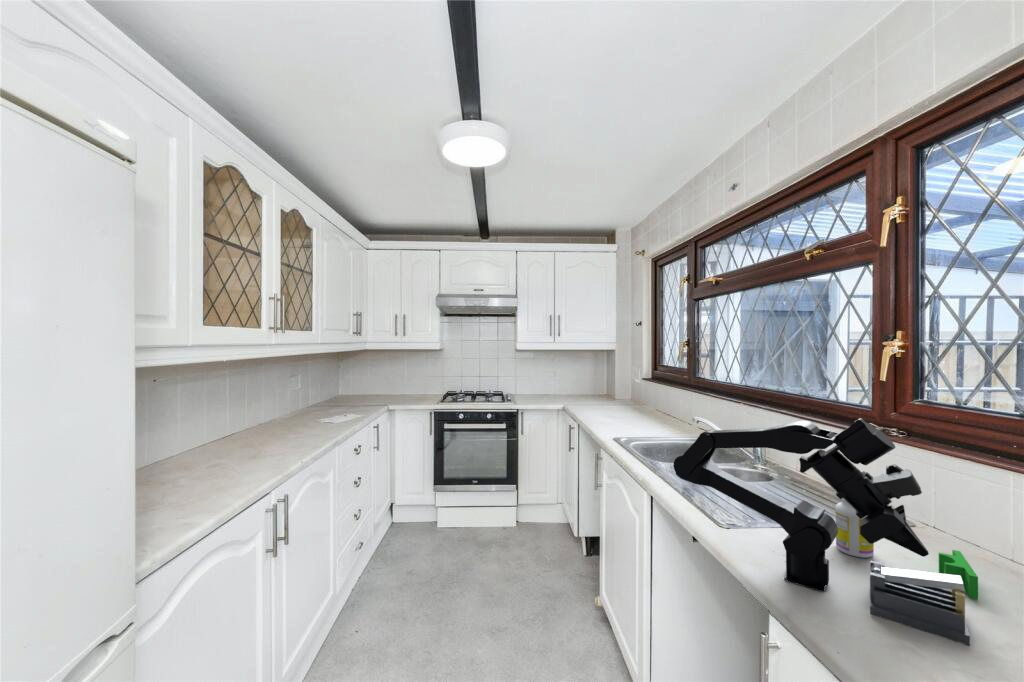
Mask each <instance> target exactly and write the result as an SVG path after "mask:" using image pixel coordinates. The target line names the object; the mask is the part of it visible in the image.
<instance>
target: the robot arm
mask: <svg viewBox="0 0 1024 682" xmlns="http://www.w3.org/2000/svg"><path fill="white" fill-rule="evenodd" d="M834 444H835V445H834ZM832 445H834V446H833V447H832V448H830V449H828V448H829V447H830V446H832ZM759 448H760V449H766V448H767V449H772V450H776V451H779V452H784V453H791V454H798V455H802V456H800V457H799V459H798V460H799V465H800V468H799V472H800V473H802V474H804V473H806V472H807V471H808V470H810V469H813V471H814V472H815V473H816V474H818V475H819V477H821V478H822V479H823V480H824V481H825V482H826V483H827V484H828V485H829V486H830V487H831V488H832V489H833V490H834V491H835V496H836V497H837V498H839V500H841V499H842V498H844V499H845V500H846V501H847V502H848V503H849V504H850V505H851V506H852V507H853V508H854V509H855V510H856V515H857V516H858V517H859V518H860V519H861V518H863V517H865V516H867V517H865V518H863V519H861V521H860V534H861V535H862V536H863V537H864V538H865V539H866V540H867V541H868V542H869V543H870V544H873V543H874V544H875V543H877V542H879V541H880V540H882V539H885V540H887V541H890V542H891V543H894V544H896V545H898V546H900V547H902V548H903V549H906V550H908V551H911V552H913V553H915V554H917V555H919V556H921V557H927V556H928V555H929V553H930V552H929V550H928V549H927V548H926V546H925V545H924V543H923V542H922V541H921V540H920V538H919V537H918V535H917V534H916V533H915V532H914V530H913V529H912V527H911V526H910V525H909V523H908V522H907V521H906V520H907V517H906V512H905V511H906V510H905V506H904V504H901V505H899V506H897V507H894V506H893V505H890V504H891V503H892V502H893V501H892V499H893V498H894V499H896V500H899V499H901V497H907V496H913V497H915V496H919V495H922V493H923V492H922V489H921V486H920V484H919V482H918V481H917V479H916V477H915V476H914V474H913V472H912V471H911V470H910V469H907V468H905V469H903V468H901V467H900V466H898V465H897V464H895V463H894V464H889V465H886V467H885V474H884V473H881V474H880V475H876V476H872V475H871V474H870V473H869V472H867V471H865V470H864V471H861V470H860V469H859V468H858V467H856V465H859V464H861V465H863V466H868V465H869V464H871V463H873V462H874V461H876V460H878V459H880V458H881V457H883V456H885V455H886V454H889V452H891V451H893V450H894V449H896V445H895V444H894V443H893V441H892V440H891V438H889V436H888V435H886V434H885V433H884V432H883V431H882V430H881V429H877V427H875V426H873V425H872V424H871V423H868V422H867V421H865V419H863V418H862V417H861V418H860V417H859V418H858V419H856V420H855V421H854V422H852V423H851V424H850V426H848V427H847V428H845V429H844V430H842V431H840V432H837V431H832V430H829V429H825V428H820V427H818V426H817V425H816V424H815V423H813V422H812V421H810V420H797V421H793V422H788V423H784V424H780V425H775V426H771V427H768V428H766V427H764V428H763V427H762V428H743V429H740V428H739V429H719V430H718V429H717V430H716V429H707V430H705V431H703V432H701V433H700V434H699V435H698V437H697V438H696V440H695V441H694V442H693V443H692V444H691V445H690V446H689V447H688V448H687V449H686V450H685V451H684V453H683V454H681V455H679V456H677V457H676V458H675V459H674V460H673V470H674V472H675V475H676V476H677V477H678V478H679V479H681V480H683V481H686V482H687V483H691V484H694V485H699V486H704V487H710V488H712V489H714V490H716V491H717V492H719V493H721V494H723V495H725V496H727V497H728V498H731V499H732V500H734V501H737V502H738V503H739V504H742V505H743V506H745V507H747V508H749V509H751V510H753V511H754V512H757V513H759V514H760V515H763V516H764V517H766V518H768V519H770V520H772V521H773V522H775V523H777V524H778V525H779V526H780V527H781V528H782V529H783V530H784V531H785V532H786V534H788V535H786V537H784V539H783V540H782V544H783V547H784V549H785V574H784V578H783V579H784V580H785V581H787V582H790V583H793V584H796V585H800V586H802V587H806V588H809V589H813V590H816V591H820V592H823V593H824V592H825V591H826V586H829V581H830V560H829V559H827V558H826V550H828V549H829V548H830V547H831V545H832V543H833V542H834V541H835V540H836V536H837V534H838V527H837V525H836V520H835V519H834V518H833V517H832V516H831V515H829V514H828V513H826V509H825V508H819V507H816V506H814V505H813V504H811V503H810V502H808V501H806V500H804V499H801V500H800V501H799V502H798V503H797V504H795V503H789V502H786V501H784V500H782V499H780V498H778V497H776V496H774V495H773V494H770V493H768V492H767V491H765V490H762V489H761V488H758V487H757V486H755V485H753V484H750V483H749V482H747V481H744V480H742V479H740V478H739V477H736V476H735V475H732V474H730V473H728V472H726V471H724V470H722V469H721V468H720V467H719V466H718V465H717V463H715V462H714V460H713V459H711V458H712V456H713V455H714V454H715V452H716V450H717V449H759ZM826 449H828V450H826ZM813 450H817V451H815V452H813V453H812V454H811V455H809V456H806V454H808V453H811V452H812V451H813ZM854 464H855V465H854Z"/></svg>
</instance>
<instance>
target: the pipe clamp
mask: <svg viewBox="0 0 1024 682" xmlns="http://www.w3.org/2000/svg"><path fill="white" fill-rule="evenodd" d="M951 550H952V554H948V553H943V552H938V573H941V574H950V575H959V576H961V579H962V582H963V585H964V589H965V591H964V592H965V593H966V594H967V597H968V598H969V600H970V599H971V600H974V601H975V600H976V601H979V577H978V575H977V573H976V572H975V571H974V569H973V568H972V566H971V565H970V563H969V561H968V560H967V559H966V557H965V556H964V555H963V553H962V552H961V551H960V550H956V549H951Z"/></svg>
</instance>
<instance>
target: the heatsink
mask: <svg viewBox="0 0 1024 682" xmlns="http://www.w3.org/2000/svg"><path fill="white" fill-rule="evenodd" d="M869 563H870V564H869V565H870V568H871V566H872V565H873V564H878V565H880V566H882V567H885V565H886V564H885V563H883V562H879V561H876V560H870V562H869ZM869 585H870V588H869V596H870V597H869V601H870V602H869V605H870V606H869V607H870V608H869V611H870V613H869V614H870V615H873V616H876V617H879V618H881V619H885V620H888V621H890V622H894V623H898V624H901V625H904V626H907V627H910V628H913V629H915V630H916V629H917V630H919V631H922V632H925V633H928V634H931V635H934V636H938V637H942V638H945V639H947V640H951V641H954V642H958V643H960V644H964V645H967V646H971V635H970V633H969V629H968V626H967V623H966V595H965V593H963V592H961V591H958V590H950V589H943V588H935V587H927V586H919V585H911V584H903V583H895V582H887V581H885V576H883V575H880V574H876V573H872V572H871V571H869Z"/></svg>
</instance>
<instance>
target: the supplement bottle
mask: <svg viewBox="0 0 1024 682" xmlns="http://www.w3.org/2000/svg"><path fill="white" fill-rule="evenodd" d="M840 500H841V502H837V503H836V505H835V506H834V507H835V512H834V513H835V523H836V525H837V527H838V534H837V536H836V538H835V545H836V547H837V549H838V550H839V551H840V552H842V553H844V554H846V555H849V556H852V557H857V558H864V559H865V558H871V557H873V555H874V554H875V553H874V550H875V549H874V545H875V543H873V544H870V543H869V542H868V541H867V540H866V539H865V538H864V537H863V536H862V535H861V534H860V521H861V519H863V518H865V517H867V516H865V517H863V518H861V519H860V518H859V517H858V516H857V515H856V510H855V509H854V508H853V507H852V506H851V505H850V504H849V503H848V502H847V501H846V500H845V499H844V498H842V499H840Z"/></svg>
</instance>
